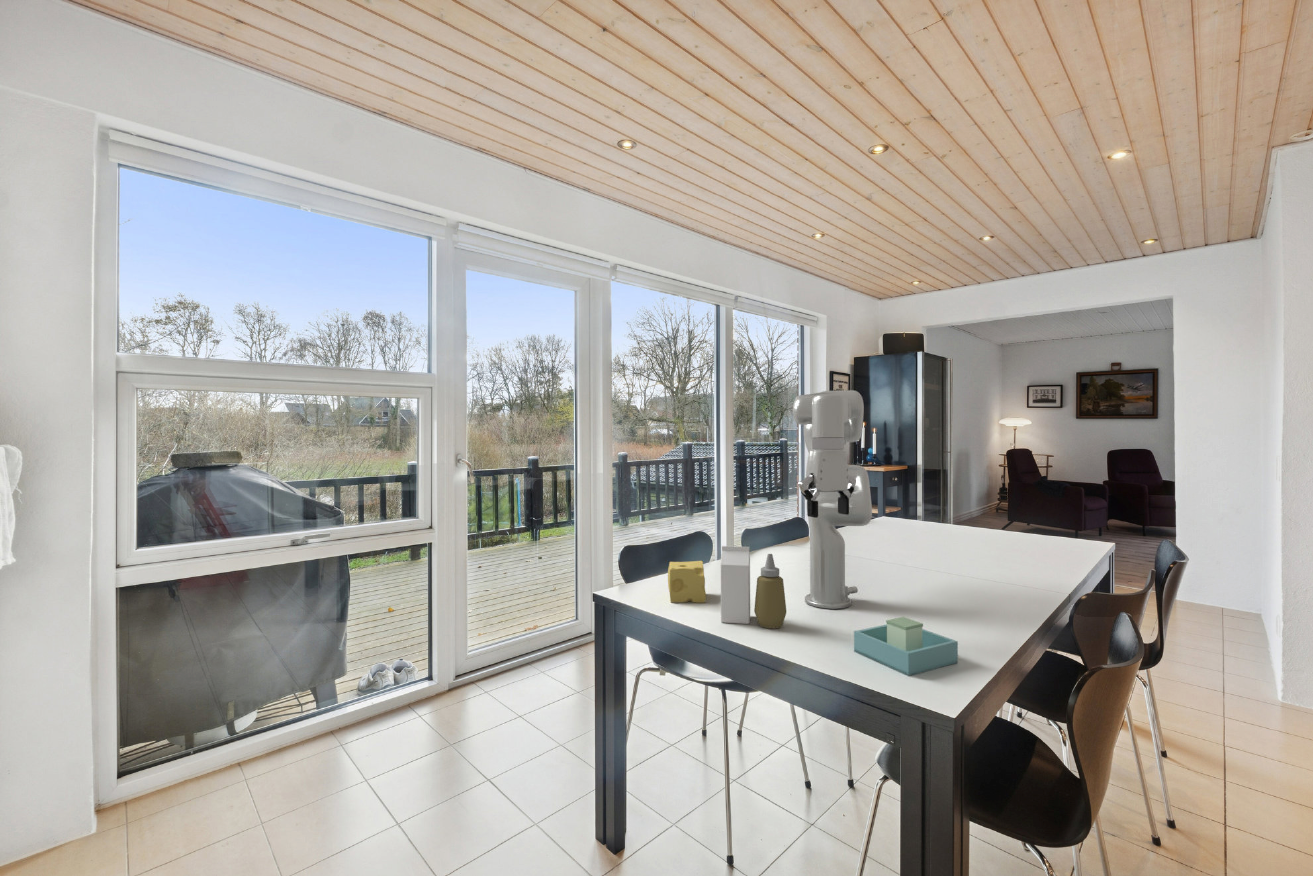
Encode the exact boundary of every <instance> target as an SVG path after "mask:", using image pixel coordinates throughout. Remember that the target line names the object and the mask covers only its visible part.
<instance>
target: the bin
mask: <svg viewBox="0 0 1313 876" xmlns="http://www.w3.org/2000/svg"><path fill="white" fill-rule="evenodd" d="M958 642H959V641H958V640H954V639H952V638H949V637H946V636H943V635H942V634H938V633H935V632H932V631H930V630H927V629H924V628H922V648H920V649H916V650H912V651H905V650H903V649H900V648H898V647H895V646H893V645H891V644H888V643H887V623H885V624H882V625H877V626H873V627H869V628H868V627H867V628H863V629H859V630H854V631H853V652H854V653H857V654H859V655H861V656H863V657H866V658H868V659H869V660H872V661H874V662H876V663H879V664H881V665H883V666H885V667H888V668H890V669H892V670H894V671H895V672H899V673H901V674H903V675H906V676H907V677H910V676H913V675H917V674H921V673H924V672H928V671H933V670H936V669H939V668H943V667H946V666H950V665H954V664H958V661H959V659H958V658H959V657H958V656H959V655H958V654H959V653H958V651H959V647H958V645H959V644H958Z"/></svg>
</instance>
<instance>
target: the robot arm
mask: <svg viewBox="0 0 1313 876" xmlns="http://www.w3.org/2000/svg"><path fill="white" fill-rule="evenodd" d="M792 406H793V407H792V416H793V420H794V421H795V423H796V424H797V425H801V426H802V425H803V438H804V445H805V447H806V450H807V452H808V455H807V461H806V469H805V470H806V471H805V477H804V478H803V479H802V480H800V481H799V482H798V487H799V489H800V493H801V494H802V496H803V497H804V500H805V501H806V512H807V513H806V515H807V519H808V525H809V573H810V574H809V577H810V578H809V585H810V586H809V587H810V589H809V591H810V592H809V594H806V595H805V596H804V602H805V603H806V604H808V605H809V606H811V607H816V608H820V609H830V610H832V609H833V610H835V609H838V610H839V609H845V608H848V607H850V606H851V605H852V600H851V598H850V597H849V595H850V594H856V593H858V592H859V591H858V587H857V586H855V585H854V586H847V585H846V543H845V539H844V537H843V536H842V534H841V533H840V531H838V529H837V528H836V527H840V526H841V527H842V526H843V527H844V526H845V527H864V526H867V525H869V524H870V522H871V520H872V517H873V507H872V506H873V505H872V496H871V494H872V493H871V486H870V485H871V484H870V479H869V474H868V471H867V469H866V468H865V467H864V466H861V465H859V464H858V465H857V464H856V465H855V464H848V457H847V452H846V450H845V446H846V445H847V443H855V442H857V441H859V440H861V438H862V435H863V427H864V424H863V423H864V414H865V413H864V409H865V408H864V406H865V405H864V400H863V396H862V395H861V394H860V392H858V391H857V390H853V389H851V390H824V391H823V390H822V391H820V392H815V393H814V392H813V393H808V394H801V395H797V396H796V397H795V399H794V402H793V405H792Z"/></svg>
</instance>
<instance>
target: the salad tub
mask: <svg viewBox="0 0 1313 876" xmlns="http://www.w3.org/2000/svg"><path fill="white" fill-rule="evenodd" d="M885 624H887V643H888V644H891V645H893V646H895V647H898V648H900V649H903V650H905V651H912V650H916V649H920V648H922V629H923V627H924V623H922V622H920V621H917V620H914V619H911V618H908V617H906V616H900V617H895V618H891V619H886V620H885Z"/></svg>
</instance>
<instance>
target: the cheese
mask: <svg viewBox="0 0 1313 876" xmlns="http://www.w3.org/2000/svg"><path fill="white" fill-rule="evenodd" d="M667 569H668V570H667V584H668V585H667V586H668V591H669V598H670V600H669V601H670V603H673V604H675V603H687V602H691V603H693V604H694V603H695V604H697V603H698V604H701V603H702V604H703V603H704V604H705V603H706V599H707V593H706V579H705V570H704V569H705V568H704V562H703V561H702V560H695V561H669V564H668V568H667Z"/></svg>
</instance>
